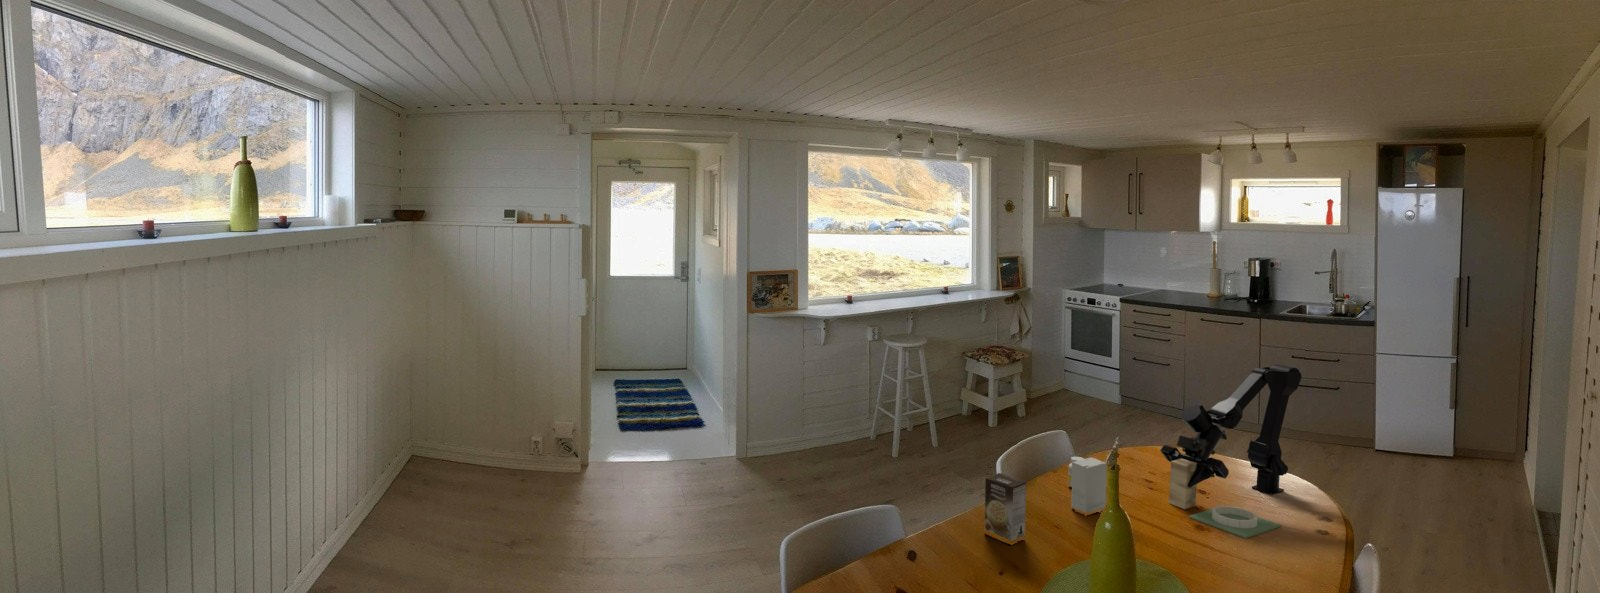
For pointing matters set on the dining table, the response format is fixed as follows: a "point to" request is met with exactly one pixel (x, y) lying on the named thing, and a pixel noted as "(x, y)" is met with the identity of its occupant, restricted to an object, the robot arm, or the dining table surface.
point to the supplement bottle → (1073, 459)
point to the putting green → (1235, 521)
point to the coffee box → (1005, 506)
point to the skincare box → (1088, 485)
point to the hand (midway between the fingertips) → (1179, 483)
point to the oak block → (1182, 484)
